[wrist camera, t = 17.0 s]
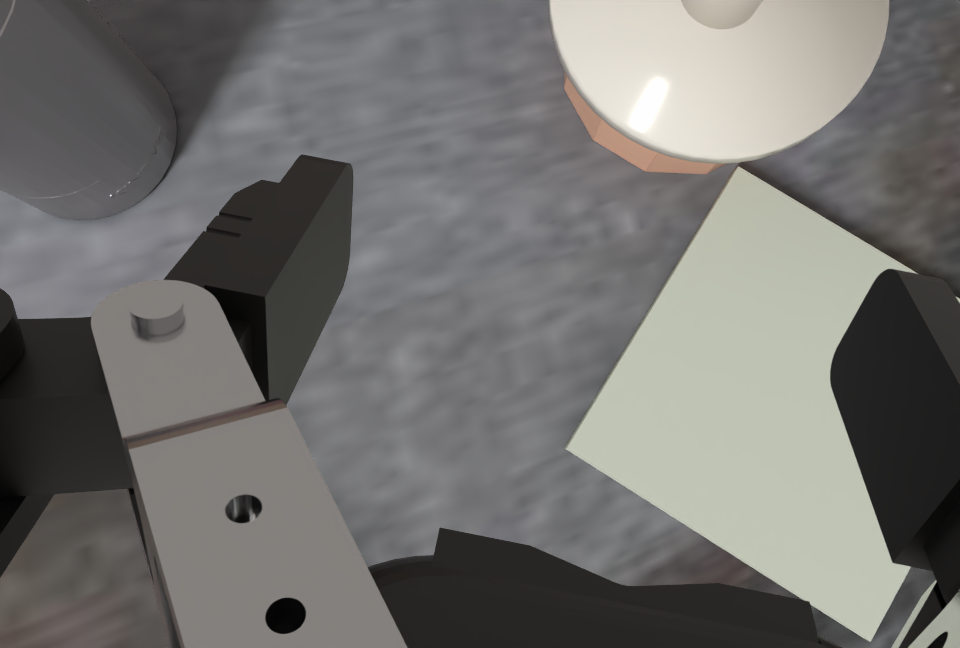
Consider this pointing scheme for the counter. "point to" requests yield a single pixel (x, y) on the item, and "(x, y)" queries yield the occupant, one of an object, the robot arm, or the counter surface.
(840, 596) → the mat
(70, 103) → the robot arm
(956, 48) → the counter surface
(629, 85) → the lid
